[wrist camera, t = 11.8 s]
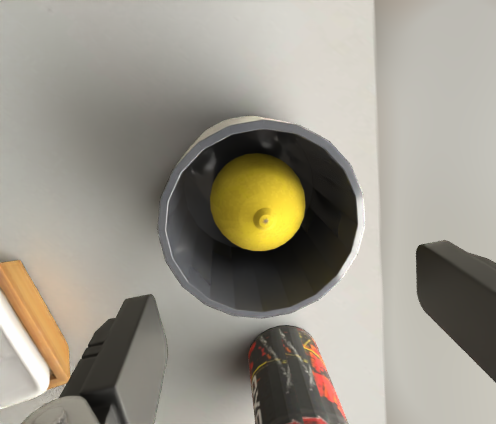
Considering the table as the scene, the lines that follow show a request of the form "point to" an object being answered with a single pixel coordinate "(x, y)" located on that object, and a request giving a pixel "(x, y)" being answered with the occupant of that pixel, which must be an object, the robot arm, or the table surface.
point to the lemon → (257, 202)
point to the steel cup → (271, 261)
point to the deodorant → (291, 380)
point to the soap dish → (27, 340)
